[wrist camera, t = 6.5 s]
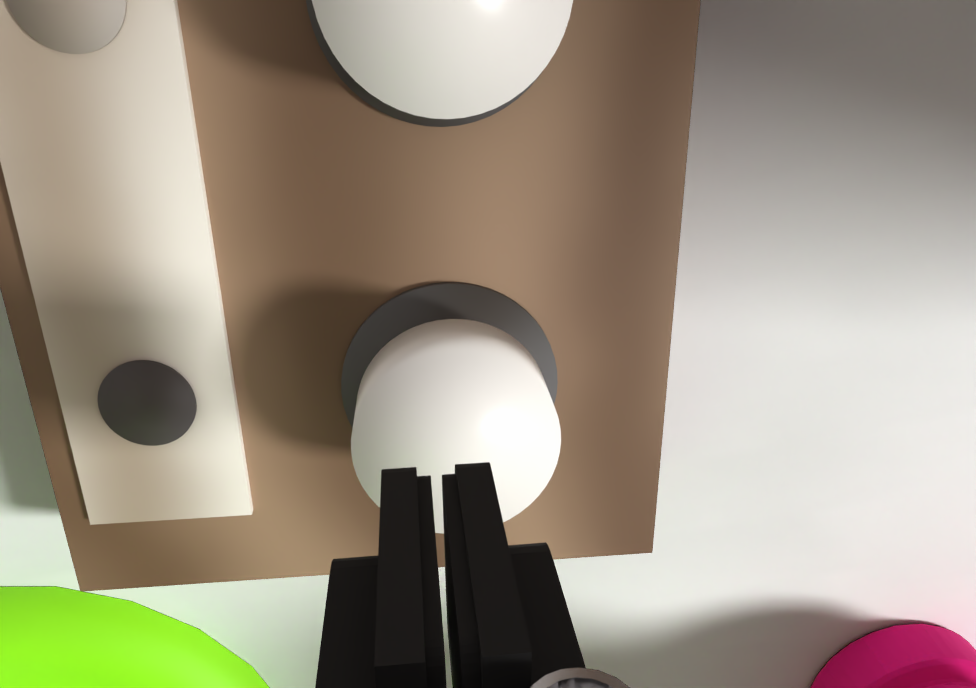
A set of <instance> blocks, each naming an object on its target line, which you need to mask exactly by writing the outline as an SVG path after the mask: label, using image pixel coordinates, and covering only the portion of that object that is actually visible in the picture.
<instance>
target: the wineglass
mask: <svg viewBox="0 0 976 688" xmlns="http://www.w3.org/2000/svg"><path fill="white" fill-rule="evenodd" d="M0 688H269V686H268V685H267V684H266V683H265V682H264V680H263V679H262V678H261V677H260V676H259V674H258V673H257V672H256V671H255V670H254V668H253V667H252V666H251V665H249V664H248V663H246V662H245V661H243V660H242V659H241V658H239V657H238V656H236V655H235V654H234V653H232V652H231V651H229V650H228V649H226V648H225V647H224V646H222V645H221V644H219V643H218V642H217V641H215V640H214V639H212V638H211V637H209V636H208V635H207V634H205V633H204V632H202V631H201V630H199V629H198V628H195V627H193V626H190V625H188V624H185V623H183V622H181V621H178V620H176V619H173V618H171V617H169V616H166V615H164V614H161V613H159V612H156V611H154V610H152V609H149V608H147V607H144V606H142V605H140V604H137V603H135V602H132V601H128V600H123V599H117V598H112V597H107V596H102V595H97V594H92V593H87V592H82V591H76V590H71V589H66V588H61V587H56V586H54V587H0Z"/></svg>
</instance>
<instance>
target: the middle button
mask: <svg viewBox="0 0 976 688" xmlns="http://www.w3.org/2000/svg"><path fill="white" fill-rule="evenodd" d="M312 3H313V7H314V10H315V14H316V18H317V21H318V23H319V26H320V28H321V31H322V33H323V36H324V38H325V40H326V42H327V43H328V45H329V47H330V49H331V51H332V52H333V54H334V56H335V57H336V58H337V60H338V61H339V63H340V64H341V65H342V67H343V68H344V69H345V70H346V72H347V73H348V74H349V75H350V76H351V77H352V78H353V79H354V80H355V81H356V82H357V83H358V84H359V85H360V86H361V87H363V88H364V89H365V90H366V91H367V92H369V93H370V94H371V95H373V96H374V97H376V98H377V99H379V100H381V101H382V102H384V103H385V104H388V105H390V106H392V107H394V108H396V109H398V110H400V111H403V112H406V113H409V114H412V115H416V116H421V117H426V118H433V119H456V118H466V117H470V116H474V115H479V114H482V113H485V112H487V111H490V110H493V109H495V108H497V107H499V106H501V105H503V104H505V103H506V102H508V101H510V100H511V99H513V98H514V97H516V96H517V95H518V94H520V93H521V92H523V91H524V90H525V89H526V88H527V87H528V86H529V85H530V84H531V83H532V82H533V81H534V80H536V78H537V77H538V76H539V75H540V74H541V72H542V71H543V70H544V69H545V67H546V66H547V65H548V63H549V62H550V60H551V58H552V57H553V55H554V54H555V52H556V50H557V48H558V46H559V44H560V42H561V40H562V38H563V36H564V33H565V30H566V27H567V24H568V21H569V18H570V13H571V9H572V4H573V0H312Z"/></svg>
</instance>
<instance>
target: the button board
mask: <svg viewBox="0 0 976 688" xmlns="http://www.w3.org/2000/svg"><path fill="white" fill-rule="evenodd" d="M700 1H701V0H573V4H572V9H571V13H570V18H569V21H568V24H567V27H566V30H565V33H564V36H563V38H562V40H561V42H560V44H559V46H558V48H557V50H556V52H555V54H554V55H553V57H552V58H551V60H550V62H549V63H548V65H547V66H546V67H545V69H544V70H543V71H542V72H541V74H540V75H539V76H538V77H537V78H536V80H534V81H533V82H532V83H531V84H530V85H529V86H528V87H527V88H526V89H525V90H524V91H523V92H521V93H520V94H518V95H517V96H516V97H514V98H513V99H511V100H510V101H508V102H506V103H505V104H503V105H501V106H499V107H497V108H495V109H493V110H490V111H487V112H485V113H482V114H479V115H474V116H470V117H466V118H456V119H433V118H426V117H421V116H416V115H412V114H409V113H406V112H403V111H400V110H398V109H396V108H394V107H392V106H390V105H388V104H385V103H384V102H382V101H381V100H379V99H377V98H376V97H374V96H373V95H371V94H370V93H369V92H367V91H366V90H365V89H364V88H363V87H361V86H360V85H359V84H358V83H357V82H356V81H355V80H354V79H353V78H352V77H351V76H350V75H349V74H348V73H347V72H346V70H345V69H344V68H343V67H342V65H341V64H340V63H339V61H338V60H337V58H336V57H335V56H334V54H333V52H332V51H331V49H330V47H329V45H328V43H327V42H326V40H325V38H324V36H323V33H322V31H321V28H320V26H319V23H318V21H317V18H316V14H315V10H314V7H313V3H312V0H0V288H1V292H2V296H3V300H4V304H5V307H6V311H7V315H8V319H9V322H10V326H11V330H12V334H13V338H14V341H15V345H16V349H17V353H18V356H19V360H20V364H21V368H22V372H23V375H24V379H25V383H26V387H27V391H28V394H29V398H30V402H31V406H32V409H33V413H34V417H35V421H36V425H37V428H38V432H39V436H40V440H41V443H42V447H43V451H44V455H45V459H46V462H47V466H48V470H49V474H50V478H51V481H52V485H53V489H54V493H55V496H56V500H57V504H58V508H59V512H60V515H61V519H62V523H63V527H64V530H65V534H66V538H67V542H68V546H69V549H70V553H71V557H72V561H73V565H74V568H75V572H76V576H77V580H78V583H79V587H80V591H94V590H109V589H124V588H139V587H153V586H168V585H183V584H197V583H212V582H227V581H242V580H256V579H271V578H286V577H300V576H315V575H330V568H331V563H332V560H333V559H339V558H352V557H365V556H377V555H378V548H379V520H380V507H378V506H377V505H376V504H375V503H374V501H373V500H372V499H371V498H370V497H369V496H368V494H367V493H366V491H365V490H364V489H363V487H362V485H361V483H360V481H359V479H358V477H357V475H356V472H355V469H354V466H353V461H352V455H351V436H352V429H353V422H354V415H355V409H356V402H357V395H358V390H359V386H360V383H361V379H362V377H363V375H364V373H365V371H366V369H367V367H368V365H369V364H370V362H371V361H372V359H373V358H374V357H375V355H376V354H377V353H378V352H379V351H380V350H381V349H382V348H383V347H384V346H385V345H386V344H387V343H388V342H389V341H391V340H392V339H394V338H395V337H396V336H398V335H399V334H401V333H403V332H405V331H407V330H409V329H411V328H413V327H415V326H418V325H421V324H424V323H427V322H432V321H436V320H445V319H466V320H473V321H478V322H482V323H485V324H489V325H491V326H493V327H496V328H498V329H500V330H502V331H504V332H506V333H507V334H509V335H511V336H512V337H513V338H515V339H516V340H517V341H518V342H520V343H521V344H522V345H523V346H524V347H525V348H526V349H527V350H528V351H529V353H530V354H531V355H532V357H533V358H534V360H535V361H536V363H537V365H538V367H539V368H540V370H541V373H542V375H543V378H544V380H545V383H546V386H547V388H548V391H549V393H550V396H551V399H552V401H553V404H554V406H555V409H556V412H557V415H558V418H559V423H560V429H561V446H560V454H559V458H558V462H557V465H556V468H555V470H554V473H553V475H552V477H551V479H550V480H549V482H548V484H547V486H546V487H545V488H544V490H543V491H542V492H541V494H540V495H539V496H538V497H537V498H536V499H535V500H534V501H533V502H532V503H531V504H530V505H529V506H528V507H527V508H525V509H524V510H523V511H522V512H520V513H519V514H517V515H516V516H514V517H513V518H511V519H509V520H507V521H505V522H503V524H504V528H505V533H506V538H507V542H508V545H519V544H532V543H545V542H546V543H547V544H548V546H549V549H550V551H551V555H552V558H553V559H565V558H580V557H594V556H609V555H624V554H639V553H652V549H653V537H654V526H655V515H656V503H657V492H658V480H659V469H660V458H661V446H662V435H663V423H664V412H665V400H666V389H667V378H668V366H669V355H670V343H671V332H672V321H673V309H674V298H675V286H676V275H677V263H678V252H679V241H680V229H681V218H682V206H683V195H684V184H685V172H686V161H687V149H688V138H689V126H690V115H691V104H692V92H693V81H694V69H695V58H696V47H697V35H698V24H699V12H700ZM435 536H436V549H437V562H438V567H445V550H444V534H442V533H435Z"/></svg>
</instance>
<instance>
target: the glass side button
mask: <svg viewBox="0 0 976 688" xmlns="http://www.w3.org/2000/svg"><path fill="white" fill-rule="evenodd" d="M560 446H561V429H560V423H559V418H558V415H557V412H556V409H555V406H554V404H553V401H552V399H551V396H550V393H549V391H548V388H547V386H546V383H545V380H544V378H543V375H542V373H541V370H540V368H539V367H538V365H537V363H536V361H535V360H534V358H533V357H532V355H531V354H530V353H529V351H528V350H527V349H526V348H525V347H524V346H523V345H522V344H521V343H520V342H518V341H517V340H516V339H515V338H513V337H512V336H511V335H509V334H507V333H506V332H504V331H502V330H500V329H498V328H496V327H493V326H491V325H489V324H485V323H482V322H478V321H473V320H466V319H445V320H436V321H432V322H427V323H424V324H421V325H418V326H415V327H413V328H411V329H409V330H407V331H405V332H403V333H401V334H399V335H398V336H396V337H395V338H394V339H392V340H391V341H389V342H388V343H387V344H386V345H385V346H384V347H383V348H382V349H381V350H380V351H379V352H378V353H377V354H376V355H375V357H374V358H373V359H372V361H371V362H370V364H369V365H368V367H367V369H366V371H365V373H364V375H363V377H362V379H361V383H360V386H359V390H358V395H357V402H356V409H355V415H354V422H353V429H352V436H351V455H352V461H353V466H354V469H355V472H356V475H357V477H358V479H359V481H360V483H361V485H362V487H363V489H364V490H365V491H366V493H367V494H368V496H369V497H370V498H371V499H372V500H373V501H374V503H375V504H376V505H377V506H378V507H380V493H381V470H382V469H393V468H408V467H416V469H417V476H428V475H431V485H432V498H433V510H434V523H435V533H442V534H444V524H443V497H442V475H443V474H455V464H468V463H483V462H489V463H490V465H491V469H492V474H493V479H494V483H495V488H496V492H497V497H498V501H499V506H500V510H501V515H502V519H503V522H505V521H507V520H509V519H511V518H513V517H514V516H516V515H517V514H519V513H520V512H522V511H523V510H524V509H525V508H527V507H528V506H529V505H530V504H531V503H532V502H533V501H534V500H535V499H536V498H537V497H538V496H539V495H540V494H541V492H542V491H543V490H544V488H545V487H546V486H547V484H548V482H549V480H550V479H551V477H552V475H553V473H554V470H555V468H556V465H557V462H558V458H559V454H560Z"/></svg>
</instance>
